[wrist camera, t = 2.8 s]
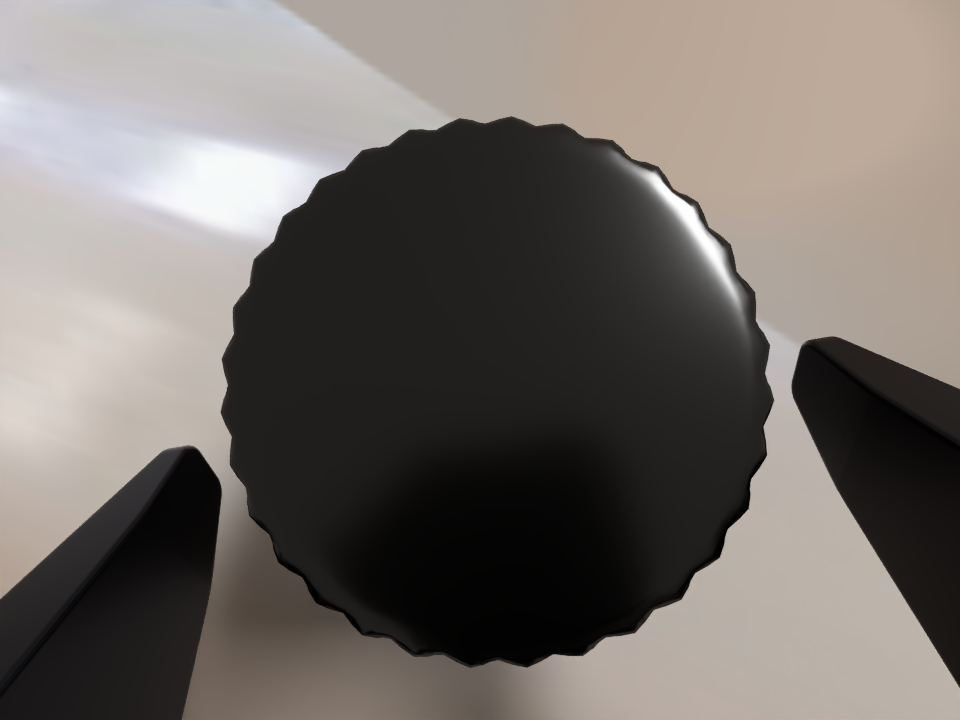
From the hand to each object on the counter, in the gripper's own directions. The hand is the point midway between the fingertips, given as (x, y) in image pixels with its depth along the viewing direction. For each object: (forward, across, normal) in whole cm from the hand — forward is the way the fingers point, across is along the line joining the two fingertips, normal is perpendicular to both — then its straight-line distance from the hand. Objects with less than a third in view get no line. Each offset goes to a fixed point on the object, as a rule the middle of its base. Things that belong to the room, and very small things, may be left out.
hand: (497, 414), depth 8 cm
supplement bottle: (+6, 0, +6) cm, 8 cm away
